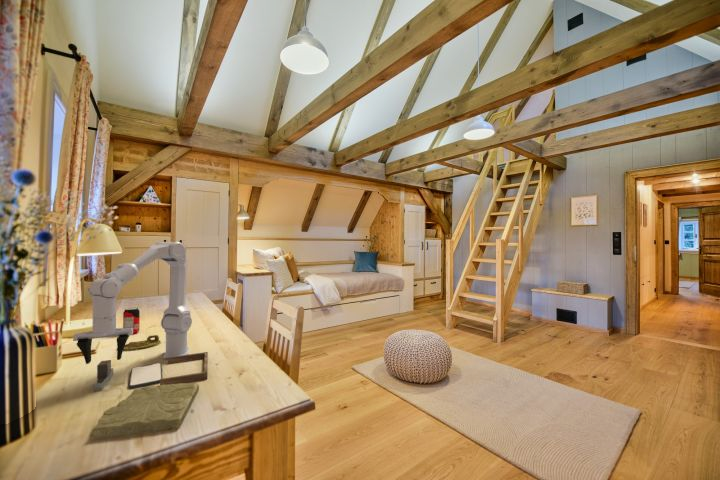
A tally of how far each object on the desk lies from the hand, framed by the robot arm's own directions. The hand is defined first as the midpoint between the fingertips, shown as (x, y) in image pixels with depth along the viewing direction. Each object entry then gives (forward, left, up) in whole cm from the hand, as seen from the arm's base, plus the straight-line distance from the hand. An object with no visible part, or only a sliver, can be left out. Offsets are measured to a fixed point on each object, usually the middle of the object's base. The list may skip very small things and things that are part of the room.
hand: (104, 360), depth 99 cm
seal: (-36, +3, -8) cm, 37 cm away
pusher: (0, 0, -7) cm, 7 cm away
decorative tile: (+26, +16, -8) cm, 31 cm away
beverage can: (-60, -4, -7) cm, 61 cm away
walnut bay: (0, +22, -7) cm, 23 cm away
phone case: (0, +11, -8) cm, 13 cm away
